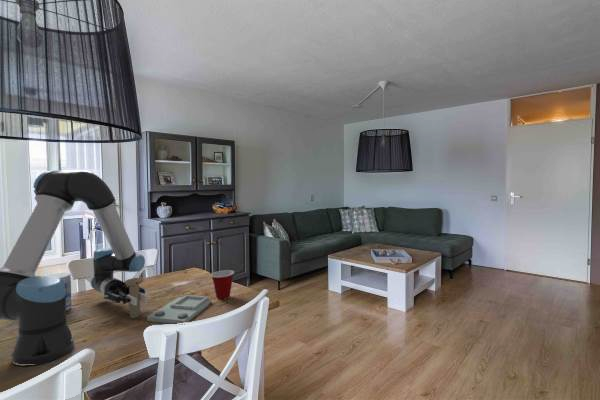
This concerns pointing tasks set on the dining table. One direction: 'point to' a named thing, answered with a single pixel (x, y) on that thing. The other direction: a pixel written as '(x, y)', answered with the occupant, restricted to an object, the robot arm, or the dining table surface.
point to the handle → (134, 295)
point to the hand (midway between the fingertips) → (141, 300)
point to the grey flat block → (180, 309)
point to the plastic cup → (222, 283)
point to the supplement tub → (67, 281)
